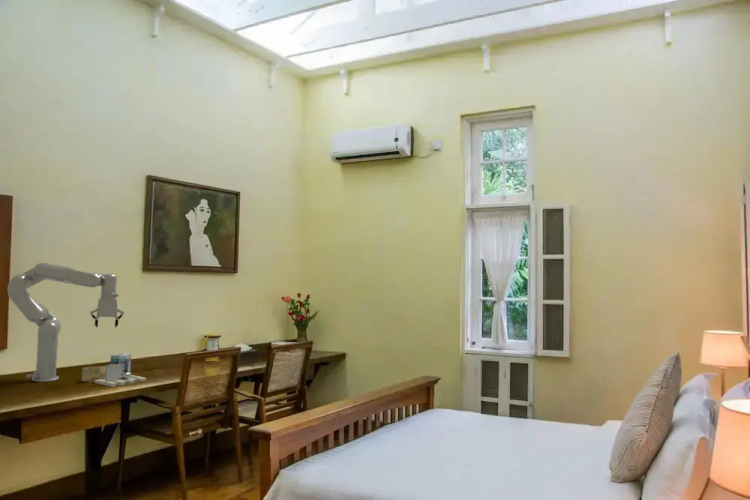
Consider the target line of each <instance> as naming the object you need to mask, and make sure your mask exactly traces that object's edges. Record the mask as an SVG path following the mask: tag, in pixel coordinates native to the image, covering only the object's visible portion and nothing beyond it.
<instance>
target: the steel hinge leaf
mask: <svg viewBox="0 0 750 500" xmlns="http://www.w3.org/2000/svg"><path fill="white" fill-rule="evenodd" d="M121 365H122V364H121V363H120V364H113V365H110V364H108V365H107V364H106V365H105V366H106V379H105V382H108V381H113V380H119V379H130V378H131V375H132V372H131V371H130V372H128V359H126V360H125V367H124V372H121Z"/></svg>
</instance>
